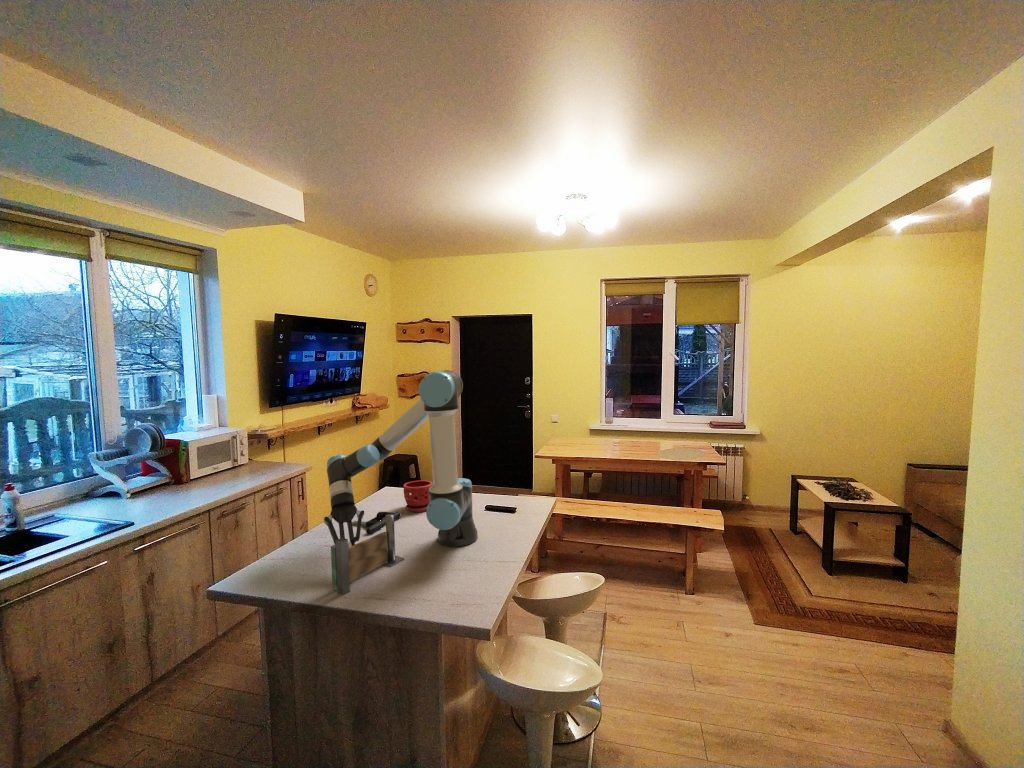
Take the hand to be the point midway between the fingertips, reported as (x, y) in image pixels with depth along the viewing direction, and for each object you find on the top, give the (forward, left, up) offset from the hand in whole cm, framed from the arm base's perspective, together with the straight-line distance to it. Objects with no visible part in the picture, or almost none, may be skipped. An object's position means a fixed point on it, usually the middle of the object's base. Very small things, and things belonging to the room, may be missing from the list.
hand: (350, 563), depth 136 cm
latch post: (+6, +5, -5) cm, 9 cm away
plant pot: (-58, -27, -5) cm, 64 cm away
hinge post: (-15, +2, -5) cm, 16 cm away
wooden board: (-3, +2, -4) cm, 6 cm away
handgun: (-35, -30, -5) cm, 46 cm away
